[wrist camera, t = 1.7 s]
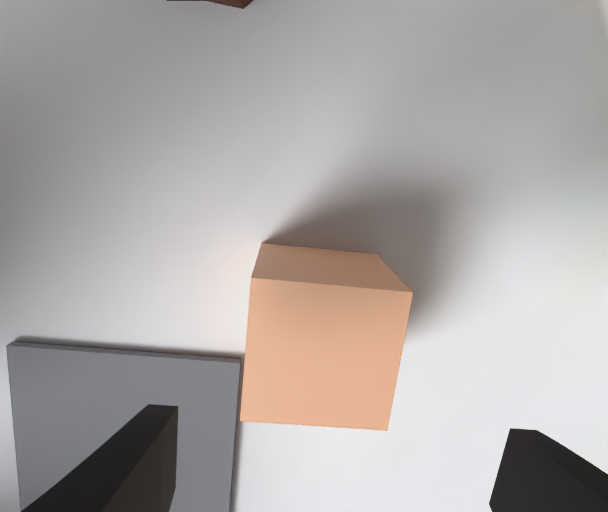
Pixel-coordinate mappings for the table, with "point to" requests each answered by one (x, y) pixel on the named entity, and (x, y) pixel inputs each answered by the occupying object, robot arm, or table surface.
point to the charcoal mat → (122, 414)
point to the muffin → (226, 2)
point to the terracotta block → (323, 338)
